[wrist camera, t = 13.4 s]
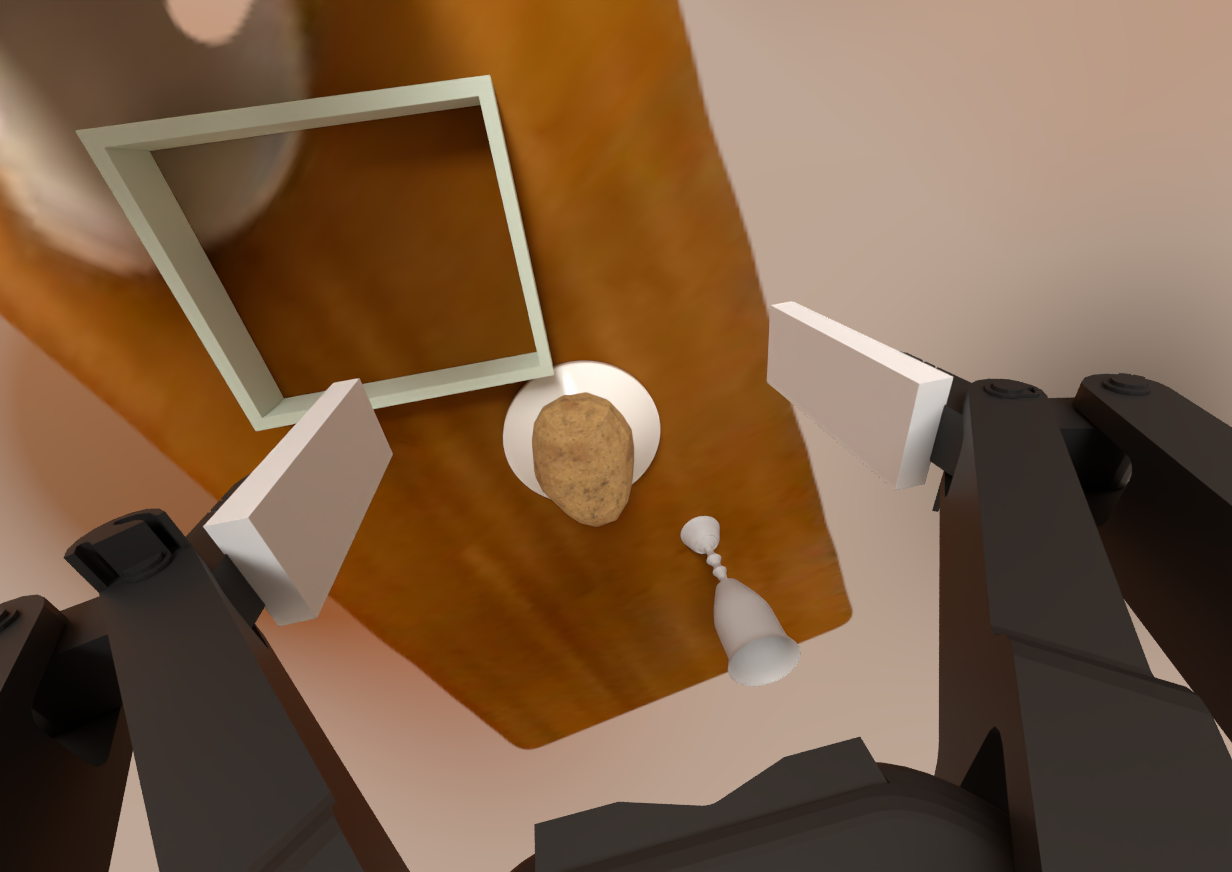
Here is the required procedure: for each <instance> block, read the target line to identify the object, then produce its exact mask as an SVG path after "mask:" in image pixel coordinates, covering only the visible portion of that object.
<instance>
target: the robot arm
mask: <svg viewBox="0 0 1232 872" xmlns="http://www.w3.org/2000/svg"><path fill="white" fill-rule="evenodd" d="M767 382H768V383H769V384H770V385H771V386H772V387H773V388H775V389H776V390H777V391H778V392H779V393H780V394H782V395H783V396H784V397H785V398H786V399H788V400H789V401H790V402H791V403H792V404H793V405H795V406H796V407H797V408H798V409H799V410H801V411H802V412H803V413H804V414H805V415H806V416H808V417H809V418H810V419H811V420H812V421H814V422H815V423H816V424H817V425H818V426H819V427H821V428H822V429H823V430H824V431H825V432H826V433H828V434H829V435H830V436H831V437H832V438H833V439H835V440H836V441H837V442H838V443H839V444H841V445H842V446H843V447H844V448H845V449H846V450H848V451H849V452H850V453H851V454H852V455H854V456H855V457H856V458H857V459H858V460H859V461H861V462H862V463H863V464H864V465H865V466H866V467H868V468H869V469H870V470H871V471H872V472H874V473H875V474H876V475H877V476H878V477H879V478H881V479H882V480H883V481H884V482H885V483H886V484H888V485H889V486H890V487H891V488H893V489H894V490H900V489H904V488H909V487H913V486H918V485H922V484H925V481H926V477H927V474H928V470H929V466H930V463H931V462H932V463H934V464H935V465H937V466H938V467H940V468H941V469H942V470H944V472H943V476H942V479H941V483H940V486H939V489H938V493H937V496H936V500H935V503H934V507H933V511H937V512H938V511H939V509H940V571H939V572H940V573H939V574H940V575H939V577H940V579H939V581H940V582H939V585H940V586H939V590H940V591H939V594H940V595H939V596H940V597H939V750H938V759H937V765H936V770H935V775H934V776H933V775H931V774H928V773H925V772H922V771H918V770H915V769H912V768H908V767H905V766H898V765H893V764H888V763H881V762H875V761H874V759H873V758H872V756H871V754H870V752H869V751H868V749H867V747H866V746H865V744H864V742H863V741H862V739H861V737H857V738H853V739H850V740H846V741H842V742H839V743H835V744H831V745H828V746H824V747H820V748H817V749H813V750H809V751H805V752H801V753H798V754H794V755H790V756H787V757H784V758H782V759H781V760H779V761H778V762H776V763H775V764H774V765H772V766H770V767H769V768H767V769H766V770H764V771H763V772H761V773H760V774H758V775H757V776H755V777H754V778H752V779H751V780H749V781H748V782H746V783H745V784H743V785H742V786H740V787H739V788H737V789H736V790H734V791H733V792H732V793H730V794H728V795H727V796H725V797H724V798H722V799H721V800H719V801H718V802H716V803H714V804H711V805H707V806H694V805H673V804H651V803H630V802H616V803H612V804H609V805H605V806H601V807H597V808H594V809H590V810H586V811H583V812H579V813H575V814H571V815H568V816H564V817H560V818H557V819H553V820H549V821H545V822H542V823H538V824H535V854H534V855H532V856H531V857H529V858H527V859H526V860H524V861H523V862H521V863H520V864H519V865H518V866H517V867H515V868H514V869H513V870H512V871H511V872H1232V759H1231V756H1230V754H1229V752H1228V750H1227V748H1226V745H1225V743H1224V741H1223V739H1222V736H1221V734H1220V732H1219V730H1218V727H1217V725H1216V723H1215V721H1216V722H1217V723H1218V725H1219V726H1220V727H1221V729H1222V730H1223V731H1224V733H1225V734H1226V735H1227V737H1228V738H1229V739H1230V741H1231V742H1232V427H1230V426H1229V425H1227V424H1225V423H1224V422H1222V421H1221V420H1219V419H1218V418H1216V417H1215V416H1213V415H1211V414H1210V413H1208V412H1206V411H1205V410H1204V409H1202V408H1201V407H1199V406H1197V405H1196V404H1194V403H1193V402H1191V401H1190V400H1188V399H1186V398H1185V397H1183V396H1182V395H1180V394H1178V393H1177V392H1175V391H1174V390H1172V389H1171V388H1169V387H1167V386H1165V385H1163V384H1160V383H1158V382H1155V381H1152V380H1148V379H1145V377H1142V376H1138V375H1131V374H1124V373H1119V374H1097V375H1091V376H1088V377H1085V378H1084V379H1083V381H1082V382H1081V385H1080V387H1079V389H1078V392H1077V394H1076V396H1075V397H1074V398H1048V397H1047V395H1046V394H1045V393H1044V392H1043V391H1042V390H1041V389H1039V388H1037V387H1035V386H1032V385H1029V384H1026V383H1023V382H1019V381H1014V380H1009V379H984V380H977V381H975V382H973V383H971V382H968V381H966V380H964V379H962V378H960V377H958V376H955V375H953V374H951V373H949V372H947V371H945V370H943V369H940V368H935V366H934V365H932V364H930V363H927V362H923V361H922V360H921V359H919V358H917V357H915V356H912V355H910V354H908V353H905V352H900V351H897V350H895V349H893V348H891V347H889V346H886V345H884V344H882V343H880V342H878V341H875V340H874V339H872V338H870V337H867V336H865V335H863V334H861V333H859V332H857V331H855V330H852V329H850V328H848V327H846V326H844V325H842V324H840V323H838V322H835V321H833V320H831V319H829V318H827V317H825V316H823V315H821V314H818V313H816V312H814V311H812V310H810V309H808V308H806V307H804V306H801V305H799V304H797V303H795V302H793V301H791V302H786V303H781V304H775V305H770V326H769V348H768V369H767ZM392 455H393V453H392V451H391V449H390V446H389V444H388V442H387V440H386V437H385V435H384V433H383V431H382V428H381V426H380V424H379V422H378V419H377V417H376V415H375V412H374V410H373V408H372V406H371V403H370V401H369V399H368V397H367V394H366V392H365V390H364V387H363V385H362V383H361V381H360V378H358V379H352V380H347V381H341V382H335V383H333V384H332V385H331V386H330V387H329V388H328V389H327V390H326V392H325V393H324V394H323V395H322V396H321V397H320V398H319V399H318V400H317V401H316V403H315V404H314V405H313V406H312V407H311V408H310V409H309V410H308V411H307V412H306V414H305V415H304V416H303V417H302V418H301V419H300V420H299V421H298V422H297V423H296V425H295V426H294V427H293V428H292V429H291V430H290V431H289V432H288V433H287V435H286V436H285V437H284V438H283V439H282V440H281V441H280V442H279V443H278V444H277V446H276V447H275V448H274V449H273V450H272V451H271V452H270V453H269V454H268V455H267V457H266V458H265V459H264V460H263V461H262V462H261V463H260V464H259V465H258V466H257V468H256V469H255V470H254V471H253V472H252V473H250V474H249V475H247V476H246V477H244V478H243V479H241V480H240V481H239V482H237V483H236V484H234V485H233V486H232V487H231V489H230V490H229V491H228V492H227V493H226V494H225V495H224V496H223V497H222V498H221V499H222V501H218V503H217V504H216V505H215V506H214V507H213V508H212V509H211V512H210V513H207V515H205V517H204V518H203V519H202V520H201V521H200V522H199V523H198V524H197V525H196V526H195V527H194V528H193V530H192V531H191V532H190V533H189V534H188V535H187V536H186V537H185V536H184V535H183V533H182V532H181V531H180V530H179V529H178V527H177V526H176V525H175V523H173V521H172V520H171V519H170V517H169V516H168V515H167V514H166V512H164V511H163V510H161V509H145V510H141V511H137V512H133V513H129V514H127V515H124V516H122V517H119V518H116V519H114V520H111V521H109V522H107V523H105V524H103V525H101V526H99V527H97V528H95V529H93V530H92V531H90V532H89V533H87V534H86V535H84V536H83V537H81V538H80V539H78V540H77V541H76V542H75V543H74V544H73V545H72V546H71V547H70V548H68V549H67V551H66V553H65V556H64V559H65V560H66V561H67V562H68V563H69V564H70V565H71V566H72V567H73V568H74V569H76V571H77V572H78V573H79V574H80V575H81V576H83V578H85V579H86V580H87V581H88V582H89V583H90V584H91V585H92V586H93V587H94V588H95V589H96V590H97V591H98V592H99V595H100V596H99V597H97V598H94V599H91V600H89V601H86V602H83V603H81V604H78V605H75V606H73V607H70V608H67V609H65V610H62V611H59V610H58V609H57V608H56V607H55V606H53V605H52V604H51V603H50V602H49V601H48V600H47V599H45V597H42V596H40V595H30V596H22V597H19V598H17V599H13V600H10V601H7V602H4V603H2V604H0V872H108V871H109V867H110V861H111V856H112V852H113V847H114V842H115V837H116V832H117V827H118V821H119V817H120V812H121V807H122V802H123V797H124V792H125V786H126V782H127V776H128V772H129V767H130V761H131V757H132V752H134V757H135V761H136V766H137V771H138V775H139V780H140V785H141V789H142V794H143V798H144V803H145V807H146V812H147V817H148V821H149V826H150V830H151V835H152V839H153V844H154V849H155V854H156V858H157V863H158V867H159V871H160V872H410V871H409V869H408V868H407V866H406V865H405V863H404V861H403V860H402V858H401V857H400V855H399V853H398V852H397V850H396V849H395V847H394V845H393V844H392V842H391V840H390V839H389V837H388V835H387V834H386V832H385V831H384V829H383V827H382V826H381V824H380V823H379V821H378V819H377V818H376V816H375V815H374V813H373V811H372V810H371V808H370V807H369V805H368V803H367V802H366V800H365V798H364V797H363V795H362V793H361V792H360V790H359V789H358V787H357V785H356V784H355V782H354V781H353V779H352V777H351V776H350V774H349V772H348V771H347V769H346V767H345V766H344V764H343V763H342V761H341V760H340V758H339V756H338V755H337V753H336V751H335V750H334V749H333V747H332V745H331V743H330V742H329V740H328V739H327V737H326V735H325V734H324V732H323V730H322V729H321V727H320V725H319V724H318V722H317V721H316V719H315V717H314V716H313V714H312V712H311V711H310V709H309V708H308V706H307V704H306V703H305V701H304V699H303V698H302V696H301V695H300V693H299V691H298V690H297V688H296V687H295V685H294V683H293V682H292V680H291V678H290V677H289V675H288V674H287V672H286V671H285V669H284V667H283V666H282V664H281V662H280V661H279V659H278V658H277V656H276V654H275V653H274V651H273V649H272V648H271V646H270V644H269V643H268V641H267V640H266V638H265V636H264V635H263V633H262V632H261V631H260V630H259V628H258V627H257V626H256V625H255V622H256V621H257V619H258V617H259V615H260V614H261V612H262V610H263V609H264V607H265V609H266V610H267V611H268V612H269V614H270V615H271V616H272V618H273V619H274V620H275V622H276V623H277V624H278V626H282V625H287V624H292V623H296V622H301V621H306V620H309V619H315V618H317V617H318V615H319V613H320V610H321V608H322V606H323V604H324V602H325V600H326V598H327V595H328V593H329V591H330V589H331V587H332V585H333V582H334V580H335V578H336V576H337V574H338V572H339V569H340V567H341V565H342V563H343V561H344V559H345V557H346V554H347V552H348V550H349V548H350V546H351V544H352V541H353V539H354V537H355V535H356V533H357V531H358V528H359V526H360V524H361V522H362V520H363V518H364V515H365V513H366V511H367V509H368V507H369V505H370V503H371V500H372V498H373V496H374V494H375V492H376V490H377V487H378V485H379V483H380V481H381V479H382V477H383V474H384V472H385V470H386V468H387V466H388V464H389V461H390V459H391V457H392ZM1129 479H1130V480H1129ZM1128 481H1129V482H1128ZM1123 598H1124V599H1123ZM1124 600H1125V601H1126V602H1127V604H1128V605H1129V606H1130V608H1131V609H1132V610H1133V612H1134V613H1135V614H1136V616H1137V617H1138V618H1139V620H1140V621H1141V622H1142V624H1143V625H1144V626H1145V628H1146V629H1147V630H1148V632H1149V633H1150V634H1151V636H1152V637H1153V638H1154V640H1155V641H1156V642H1157V644H1158V645H1159V646H1160V648H1161V649H1162V650H1163V652H1164V653H1165V654H1166V656H1167V657H1168V658H1169V660H1170V661H1171V662H1172V664H1173V665H1174V666H1175V667H1176V669H1177V670H1178V671H1179V673H1180V674H1181V676H1182V677H1183V678H1184V680H1185V681H1186V682H1187V684H1188V685H1189V686H1190V688H1191V689H1192V690H1193V692H1192V691H1191V690H1190V689H1188V688H1187V687H1185V686H1182V685H1178V684H1175V683H1171V682H1168V681H1165V680H1161V679H1158V678H1155V677H1154V676H1153V674H1152V672H1151V670H1150V668H1149V665H1148V663H1147V660H1146V657H1145V654H1144V652H1143V649H1142V646H1141V644H1140V641H1139V639H1138V636H1137V633H1136V631H1135V628H1134V625H1133V623H1132V620H1131V617H1130V615H1129V612H1128V609H1127V607H1126V604H1125V602H1124ZM1213 718H1214V719H1215V721H1214V719H1213Z"/></svg>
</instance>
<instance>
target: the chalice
mask: <svg viewBox="0 0 1232 872" xmlns="http://www.w3.org/2000/svg"><path fill="white" fill-rule="evenodd" d="M719 530H720V527H719V523H718V522H717V520H716V519H714V518H712V517H709V516H699V517H696V518H693V519H692V520H690V521H689V522H687V523H686V524H685V526H684V527H683V529H682V531H681V540H682V542H683V543H684V544H685V545H687V546H688V547H689V548H691V549H692V550H693V551H695V552H696V553H701V554H706V553H707V556H708V558H707V563H708V564H709V565H712V566H713V568H714V570H713V575H714V576H716V577H717V578H718V579H719V580H720V583H719V584H718V585H717V587H716V591H715V600H714V625H715V628H716V631H717V633H718V636H719V638H720V640H721V643H722V645H723V647H724V650H725V652H726V655H727V657H728V659H729V661H728V672H729V675H730V677H731V678H732V679H733V680H734V681H735V682H736V683H739V684H742V685H745V686H760V685H765V684H769V683H772V682H775V681H777V680H779V679H781V678H782V677H784V676H786V675H787V674H788V673H789V672H790V671H791V670H793V669H794V667H795V666H796V665H797V663H798V661H799V658H800V655H801V652H800V647H799V646H798V644H797V643H796V642H795V641H794V640H792V639H791V638H789V637H788V636H787V635H786V634H785V632H784V630H783V628H782V627H781V625H780V623H779V621H778V620H777V618H776V616H775V614H774V613H773V611H772V609H771V607H770V606H769V605H768V603H767V602H766V601H765V600H764V599H762V598H761V597H760V596H759V595H758V594H757V593H756V592H754V591H753V590H752V589H750V588H748V587H747V586H745V585H744V584H742V583H741V582H739V581H738V580H736V579H732V578H731V579H728V578H727V575H726V571H727V570H726V568H725V567H723V566H722V565H721V564H720V561H721V556H720V555H718V554H716V553H715V552H714V549H715V548H716V547H717V545H718V543H719V539H720V538H719V535H720V533H719Z"/></svg>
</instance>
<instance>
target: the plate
mask: <svg viewBox="0 0 1232 872" xmlns="http://www.w3.org/2000/svg"><path fill="white" fill-rule="evenodd" d="M553 370H554V375H551V376H546V377H541V378H535V379H530V380H529V381H528V382H527V383H526V384H525V385H524V386H522V388H521V389H520V390H519V391H518V393H517V394H516V395H515V397H514V398H513V400H512V402H511V403H510V406H509V408H508V411H507V413H506V417H505V421H504V431H503V445H504V450H505V455H506V458H507V460H508V463H509V465H510V467H511V468H512V470H513V472H514V473H515V474H516V476H517V477H518V478H519V479H520V480H521V481H522V482H523V483H524V484H525V485H526V486H527V487H529V488H530V489H531V490H533V491H535V492H536V493H538V494H540V495H542V496H544V497H547V498H549V497H548V496H547V495H546V494H545V493H544V492H543V491H542V489H541V487H540V485H539V483H538V481H537V479H536V477H535V472H534V463H533V450H532V435H533V427H534V422H535V420H536V419H537V417H538V415H539V413H540V411H541V409H542V408H543V406H545V405H547V404H549V403H551V402H552V401H554V400H556V399H558V398H559V397H561V396H563V395H572V394H578V393H584V392H587V393H590V394H593V395H596V396H599V397H602V398H605V399H607V400H608V401H610V402H611V403H612V404H613V405H614V406H615V407H616V408H617V410H618V411H619V412H620V413H621V414H622V415H623V416H624V418H625V419H626V421H627V423H628V424H629V426H630V428H631V429H632V435H633V443H634V469H633V480H632V484H633V483H634V482H635V481H637V480H638V479H639V478H640V477H641V476H642V474H643V473H644V472H645V471H646V469H647V468H648V467H649V465H650V464H651V462H652V460H653V458H654V456H655V454H656V451H657V448H658V444H659V439H660V421H659V415H658V412H657V409H656V406H655V404H654V402H653V400H652V398H651V397H650V395H649V393H648V392H647V391H646V389H645V388H644V386H643V385H642V384H641V383H640V382H639V381H638V380H637V379H636V378H635V377H633V376H632V375H631V374H629V373H628V372H626V371H624V370H623V369H621V368H619V367H616V366H614V365H611V364H608V363H604V362H599V361H591V360H578V361H570V362H565V363H561V364H558V365H555V366H553ZM549 499H550V498H549Z"/></svg>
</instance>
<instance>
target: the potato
mask: <svg viewBox="0 0 1232 872" xmlns="http://www.w3.org/2000/svg"><path fill="white" fill-rule="evenodd" d="M532 450H533V463H534V472H535V477H536V479H537V481H538V483H539V485H540V487H541V489H542V491H543V492H544V493H545V494H546V495H547V496H548V497H549V498H550V499H551V500H552V501H553V502H554V503H556V504H557V505H558V506H559V507H560V508H561V509H562V510H563V511H564V512H565V513H566V514H567V515H568V516H570V517H571V518H573V519H575V520H576V521H578V522H579V523H582V524H586V525H591V526H595V527H599V526H601V525H604V524H607V523H610V522H613V521H615V520H617V518H618V517H619V515H620V514H621V512H622V511H623V509H624V507H625V506H626V504H627V503H628V500H629V495H630V490H631V485H632V480H633V469H634V443H633V435H632V429H631V428H630V426H629V424H628V423H627V421H626V419H625V418H624V416H623V415H622V414H621V413H620V412H619V411H618V410H617V408H616V407H615V406H614V405H613V404H612V403H611V402H610V401H608V400H607V399H605V398H602V397H599V396H596V395H593V394H590V393H587V392H584V393H578V394H572V395H563V396H561V397H559V398H558V399H556V400H554V401H552V402H551V403H549V404H547V405H545V406H543V408H542V409H541V411H540V413H539V415H538V417H537V419H536V420H535V422H534V427H533V435H532Z"/></svg>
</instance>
